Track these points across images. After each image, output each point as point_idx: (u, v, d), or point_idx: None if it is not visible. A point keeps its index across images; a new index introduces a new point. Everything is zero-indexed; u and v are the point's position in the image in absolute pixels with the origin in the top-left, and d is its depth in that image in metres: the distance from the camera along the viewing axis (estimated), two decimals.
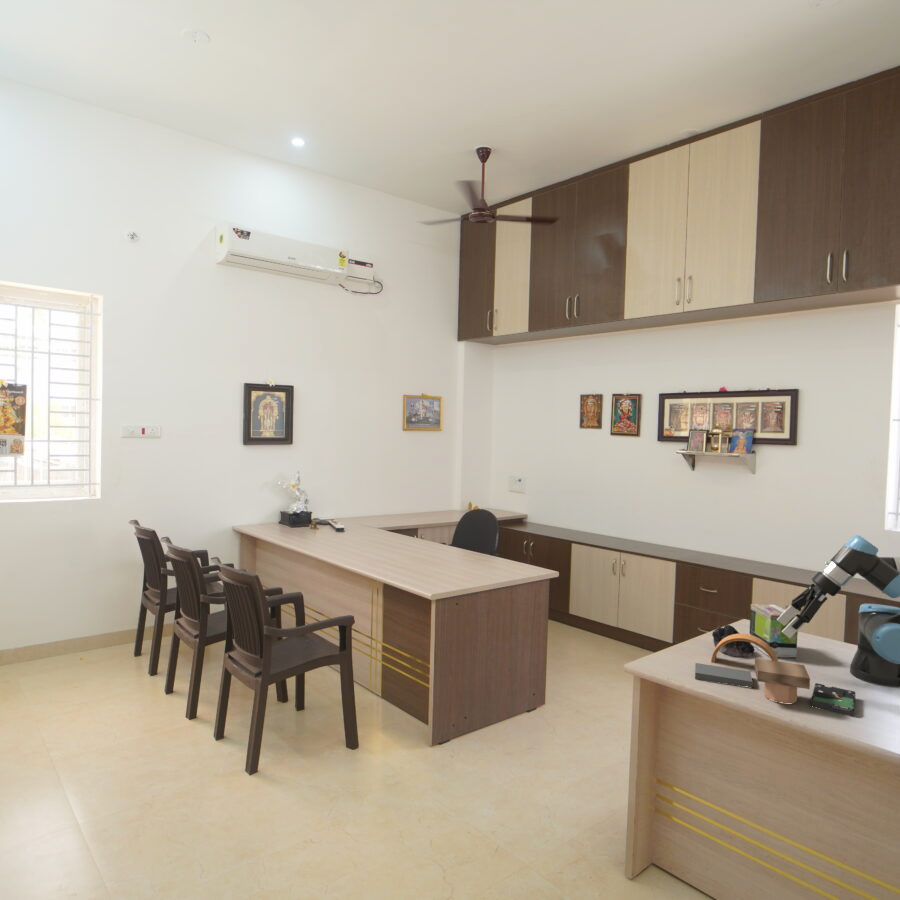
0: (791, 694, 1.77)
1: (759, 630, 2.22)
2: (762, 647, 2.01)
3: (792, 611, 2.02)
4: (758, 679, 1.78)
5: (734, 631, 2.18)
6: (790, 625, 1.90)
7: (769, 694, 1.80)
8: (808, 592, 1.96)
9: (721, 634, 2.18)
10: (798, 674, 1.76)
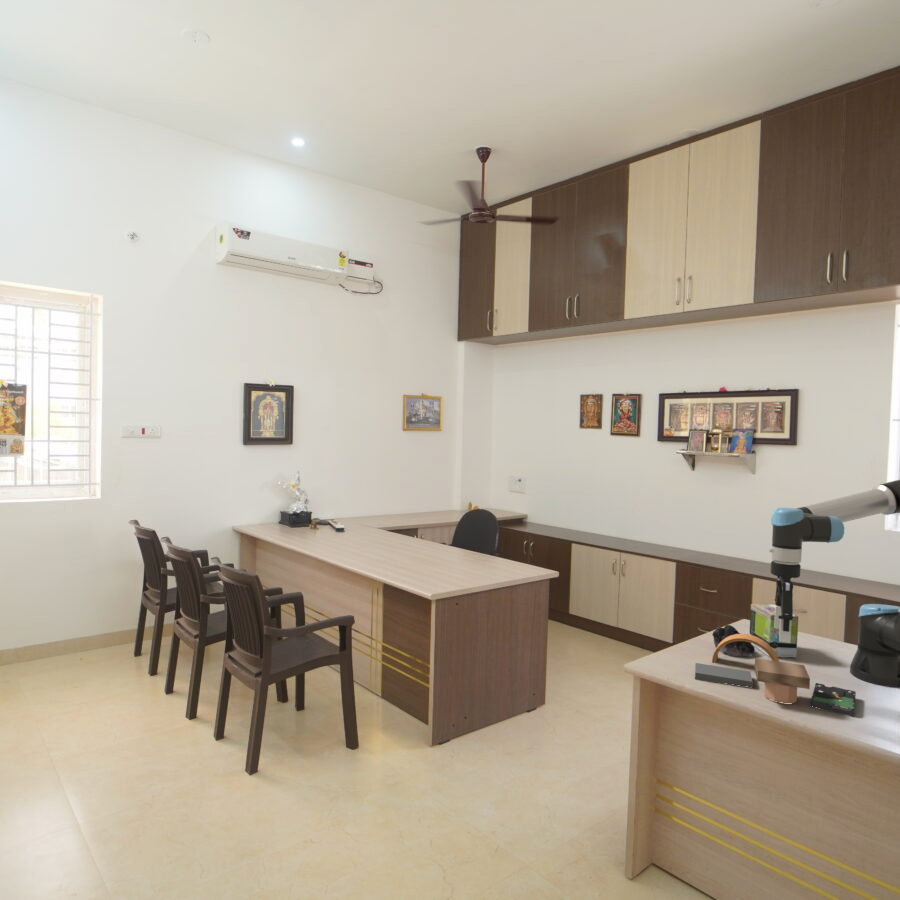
0: (791, 694, 1.77)
1: (759, 630, 2.22)
2: (763, 647, 2.01)
3: (781, 611, 1.87)
4: (758, 679, 1.78)
5: (734, 631, 2.18)
6: (781, 630, 1.75)
7: (768, 694, 1.80)
8: None
9: (721, 634, 2.18)
10: (798, 674, 1.76)
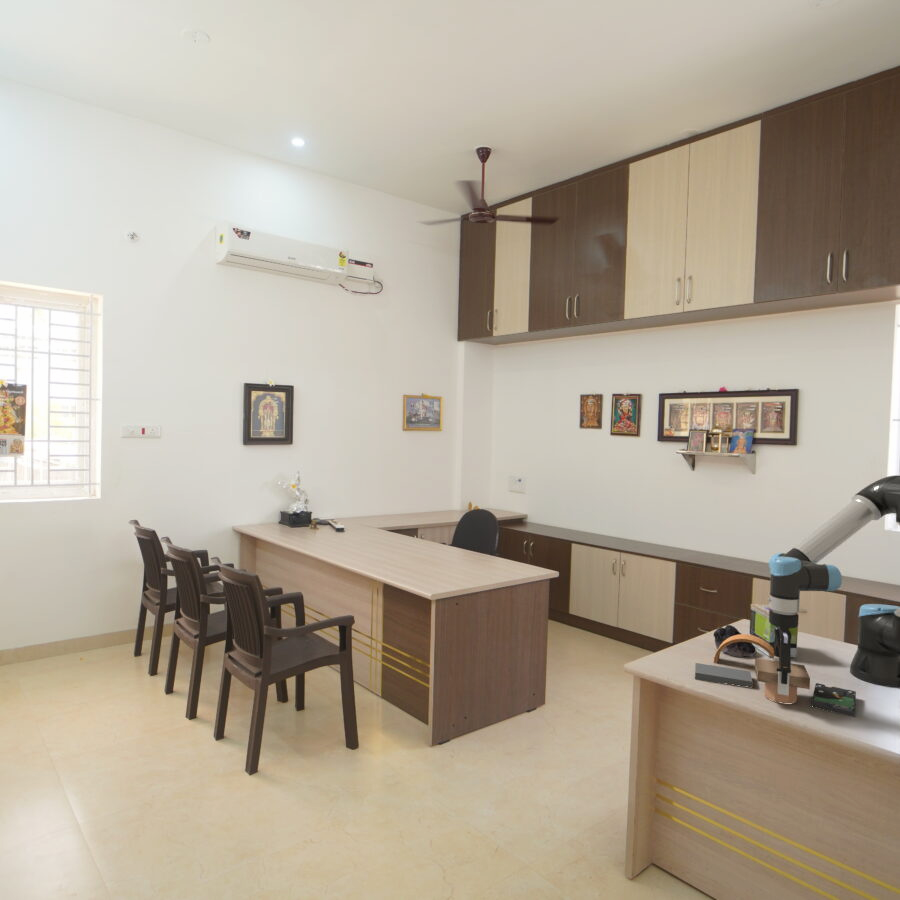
0: (791, 694, 1.77)
1: (758, 630, 2.22)
2: (765, 648, 2.01)
3: None
4: (758, 679, 1.78)
5: (735, 631, 2.18)
6: (779, 682, 1.76)
7: (768, 694, 1.80)
8: (776, 635, 1.83)
9: (722, 634, 2.18)
10: (798, 674, 1.76)
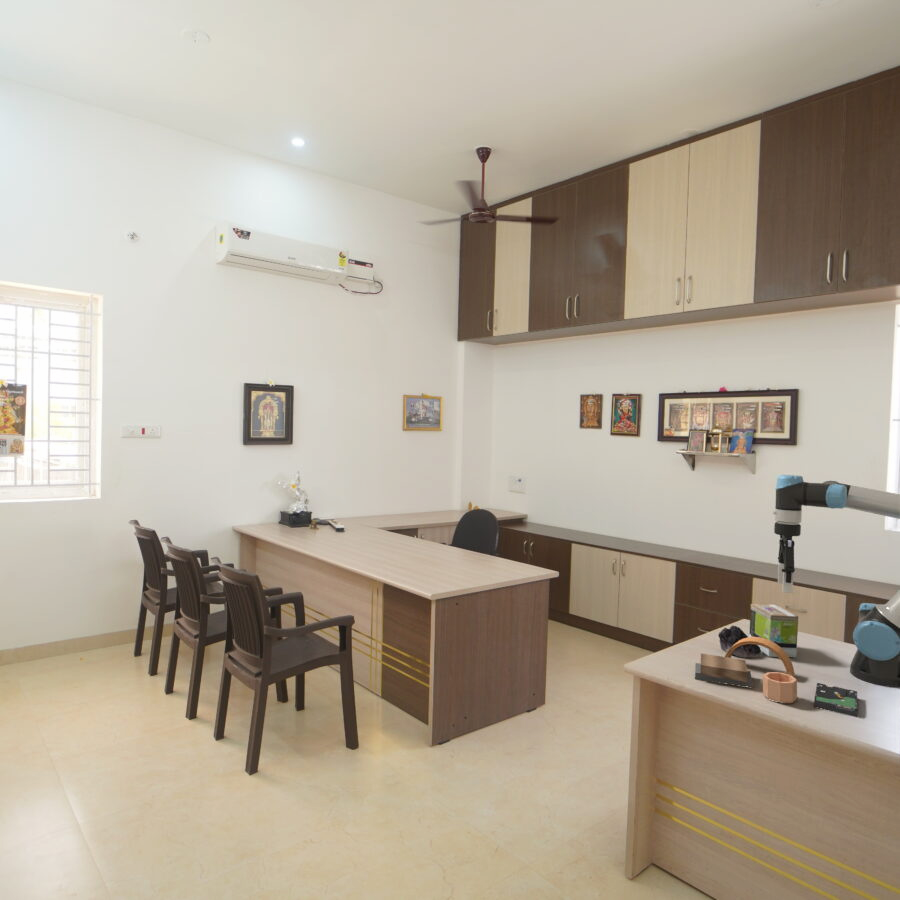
0: (794, 692, 1.78)
1: (759, 630, 2.22)
2: (774, 651, 1.98)
3: (783, 567, 2.09)
4: (701, 673, 1.92)
5: (741, 632, 2.17)
6: (784, 582, 1.97)
7: (772, 696, 1.79)
8: None
9: (728, 635, 2.17)
10: (737, 668, 1.90)
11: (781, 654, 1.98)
